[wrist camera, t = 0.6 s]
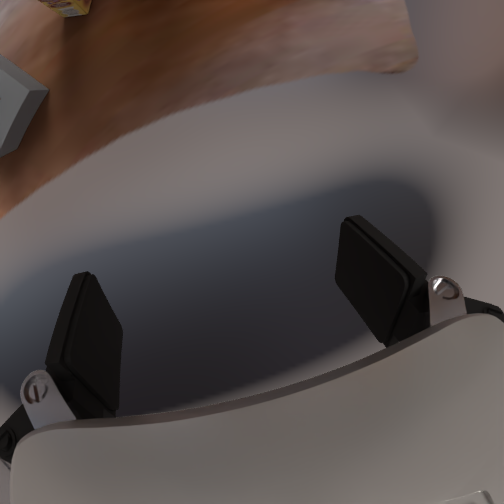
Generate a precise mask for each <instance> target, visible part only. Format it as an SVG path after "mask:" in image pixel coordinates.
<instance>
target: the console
mask: <svg viewBox="0 0 504 504" xmlns="http://www.w3.org/2000/svg"><path fill="white" fill-rule="evenodd" d="M48 91H49V89H48V88H46V87H45V86H44V85H42V84H41V83H40V82H38V81H37V80H35V79H34V78H33V77H31V76H30V75H29V74H27V73H26V72H24V71H23V70H22V69H20V68H19V67H18V66H16V65H15V64H13V63H12V62H11V61H9V60H8V59H7V58H5V57H4V56H2V55H1V54H0V98H1V100H0V157H2V156H4V155H6V154H8V153H10V152H12V151H14V150H16V149H17V148H18V146H19V144H20V142H21V139H22V137H23V135H24V133H25V131H26V129H27V127H28V126H29V124H30V122H31V120H32V118H33V116H34V115H35V113H36V111H37V109H38V108H39V106H40V104H41V102H42V101H43V99H44V98H45V96H46V94H47V93H48Z"/></svg>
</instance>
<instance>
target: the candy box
mask: <svg viewBox="0 0 504 504" xmlns="http://www.w3.org/2000/svg"><path fill="white" fill-rule="evenodd" d="M38 1H40V2H41V3H43V4H44V5H46V6H47V7H49V8H50V9H52V10H53V11H55V12H56V13H58V14H59V15H61V16H62V17H70V16H77V15H86V14H88V11H89V8H90V4H91V1H92V0H38Z"/></svg>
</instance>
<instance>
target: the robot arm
mask: <svg viewBox="0 0 504 504" xmlns="http://www.w3.org/2000/svg"><path fill="white" fill-rule="evenodd" d="M426 276H427V273H426V272H425V271H424V270H423V269H422V268H421V267H420V266H419V265H418V264H417V263H416V262H415V261H413V260H412V259H411V258H410V257H409V256H408V255H407V254H406V253H405V252H404V251H402V250H401V249H400V248H399V247H398V246H397V245H395V244H394V243H393V242H392V241H391V240H390V239H388V238H387V237H386V236H385V235H384V234H383V233H381V232H380V231H379V230H378V229H377V228H375V227H374V226H373V225H372V224H370V223H369V222H368V221H367V220H365V219H364V218H363V217H362V216H360V215H356V216H351V217H346V218H345V219H344V222H342V223H341V228H340V238H339V248H338V256H337V264H336V273H335V281H336V283H337V285H338V287H339V288H340V289H341V290H342V292H343V293H344V295H345V296H346V297H347V298H348V300H349V301H350V303H351V304H352V305H353V307H354V308H355V309H356V311H357V312H358V314H359V315H360V316H361V318H362V319H363V320H364V322H365V323H366V325H367V326H368V327H369V329H370V330H371V332H372V333H373V334H374V336H375V337H376V339H377V340H378V341H379V342H380V343H383V344H384V345H385V347H386V348H385V349H383V350H381V351H379V352H376V353H374V354H372V355H370V356H367V357H365V358H363V359H360V360H358V361H355V362H353V363H351V364H348V365H345V366H343V367H340V368H337V369H335V370H332V371H330V372H327V373H324V374H321V375H318V376H315V377H313V378H310V379H307V380H303V381H300V382H297V383H294V384H291V385H288V386H285V387H281V388H278V389H274V390H271V391H267V392H264V393H260V394H256V395H252V396H248V397H244V398H240V399H235V400H231V401H226V402H222V403H217V404H213V405H207V406H202V407H197V408H191V409H185V410H178V411H171V412H165V413H156V414H147V415H137V416H127V417H117V418H116V410H118V409H119V387H120V364H121V348H122V338H123V337H122V336H123V330H122V327H121V324H120V322H119V321H118V319H117V317H116V315H115V313H114V312H113V310H112V308H111V306H110V304H109V302H108V300H107V299H106V296H105V295H104V293H103V291H102V289H101V287H100V284H99V283H98V280H97V278H96V277H95V275H93V274H92V275H91V274H90V273H89V272H88V271H87V272H83V273H78V274H75V275H74V276H73V278H72V280H71V283H70V286H69V288H68V291H67V294H66V296H65V299H64V302H63V305H62V307H61V310H60V313H59V316H58V319H57V322H56V325H55V328H54V332H53V335H52V339H51V342H50V346H49V349H48V353H47V357H46V361H45V364H46V365H47V368H46V371H44V370H37V371H34V372H32V373H31V374H29V375H28V376H27V377H26V379H25V380H24V382H23V384H22V387H21V400H22V403H23V404H22V405H21V406H20V407H19V408H18V409H17V410H16V411H15V412H14V413H13V414H12V415H11V416H10V418H9V419H8V420H7V421H6V422H5V423H4V424H3V425H2V426H1V427H0V504H504V313H503V312H502V310H501V309H500V308H499V307H498V306H494V305H492V304H489V303H485V302H482V301H478V300H474V299H471V298H467V297H464V296H463V292H462V289H461V287H460V286H459V284H458V283H456V282H455V281H454V280H452V279H451V278H449V277H445V276H434V277H432V278H431V279H430V280H429V282H427V281H426V280H425V278H426Z"/></svg>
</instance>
